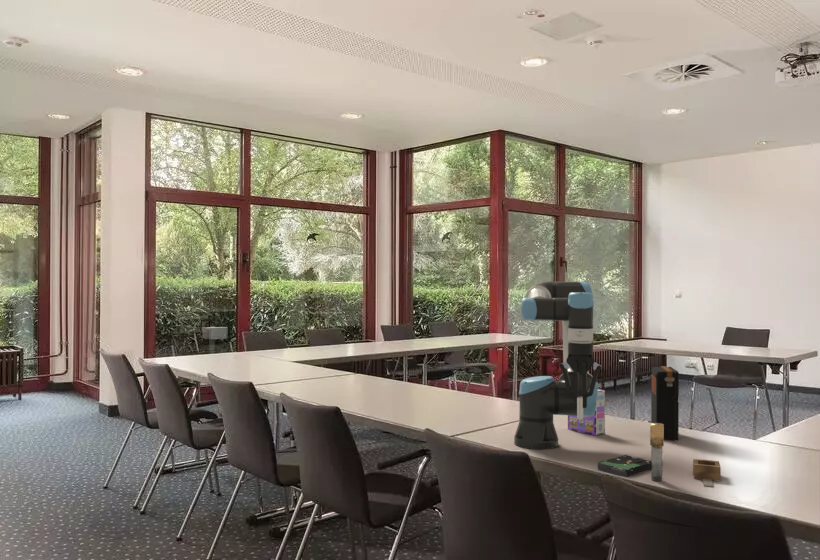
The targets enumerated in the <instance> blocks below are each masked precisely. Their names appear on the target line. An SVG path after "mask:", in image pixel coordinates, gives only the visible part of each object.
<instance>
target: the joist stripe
mask: <svg viewBox="0 0 820 560" xmlns="http://www.w3.org/2000/svg"><path fill="white" fill-rule="evenodd" d="M702 483H703V487H709V488H714V484H713V480H712V479H704V478H703V479H702Z"/></svg>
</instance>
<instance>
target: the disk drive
mask: <svg viewBox="0 0 820 560" xmlns="http://www.w3.org/2000/svg"><path fill="white" fill-rule="evenodd" d="M596 468H597V470H598V471H602V472H606V473H609V474H613V475H617V476H620V477H625V478H628V477H631V476H634V475H637V474H641V473H644V472H647V471H651V460H649V459H645V458H639V457H632V456H631V455H628V454H623V455H620V456H617V457H614V458H609V459H606V460H601V461H598V462H597V467H596Z"/></svg>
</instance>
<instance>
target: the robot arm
mask: <svg viewBox="0 0 820 560" xmlns="http://www.w3.org/2000/svg"><path fill="white" fill-rule="evenodd" d="M593 294H594V293H593V289H592V287H591V285H590V283H589V282H587V281H580V280H576V281H558V280H557V281H552V280H551V281H548V280H547V281H542V282H539V283H536V284H534V285H532V286H531V287H530V288H528V290H527V291H526V293H525V296H524V297H523V298H522V299H521V305H520V306H521V315H520V316H521V319H522V320H523V321H531V322H533V321H540V322H541V321H543V322H544V321H545V322H547V321H554V322H562V354H563V355H562V361H563V362H561V363H560V364H558V365H559V366H558V367H559V369H561V371H562V374H561V375H559V378H558V379H559V380H555V379H554V376H551V375H539V376H531V377H526V378H524V379H522V380H521V381H520V383H519V391H518V395H519V409H518V410H519V412H518V413H519V419H518V420H519V422H518V425H517V427H516V429H515V430H516V431H515V433H514V438H513V443H514V445H515V446H517V447H521V448H526V449H535V450H536V449H537V450H539V449H540V450H544V449H545V450H547V449H548V450H549V449H554V448H556V447H558V446H559V437H558V433H557V430H556V427H555V423H554V416H555V415H556V416H568V415H573V416H577V419H583V416H591V415H593V414H594V413H595V409H596V402H597V392H598V389H599V382H598V381H597V380H598V375H599V373H600V370H601V369H602V368H603V365H601V364H598V363H597V362H595V358H594V344H593V341H594V324H593V323H594V305H595V304H594V296H593ZM591 368H592V369H593V370H594V372H593V375H592V374H591V373H589V370H590V369H591Z"/></svg>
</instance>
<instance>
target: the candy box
mask: <svg viewBox="0 0 820 560" xmlns="http://www.w3.org/2000/svg"><path fill="white" fill-rule="evenodd" d="M567 430H570V431H574V432H579V433H583V434H587V435H591V436H599V435H605V434H606V390H605V389H599V388H598V392H597V402H596V409H595V413H594V414H593V415H591V416H583V419H577V416H573V415H567Z"/></svg>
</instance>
